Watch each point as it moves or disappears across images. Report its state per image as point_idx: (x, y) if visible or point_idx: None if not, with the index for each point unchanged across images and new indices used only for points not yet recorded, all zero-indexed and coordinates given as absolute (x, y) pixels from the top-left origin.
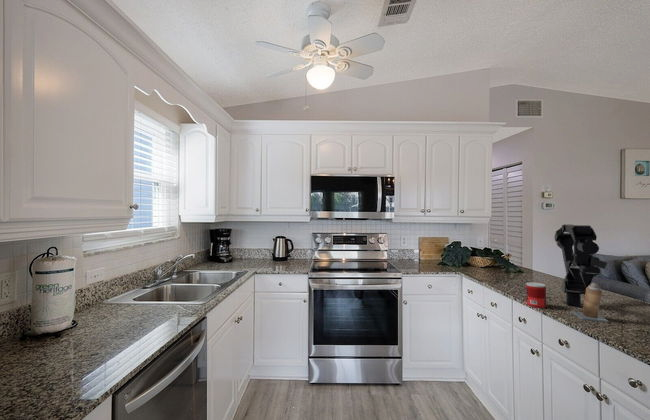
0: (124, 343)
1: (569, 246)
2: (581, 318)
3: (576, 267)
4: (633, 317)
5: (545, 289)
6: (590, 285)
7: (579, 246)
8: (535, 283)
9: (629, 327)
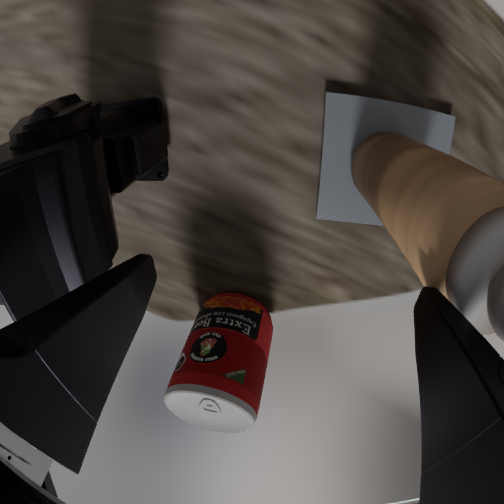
0: None
1: None
2: None
3: (13, 446)
4: None
5: (235, 380)
6: (469, 307)
7: None
8: (175, 402)
9: (492, 60)
